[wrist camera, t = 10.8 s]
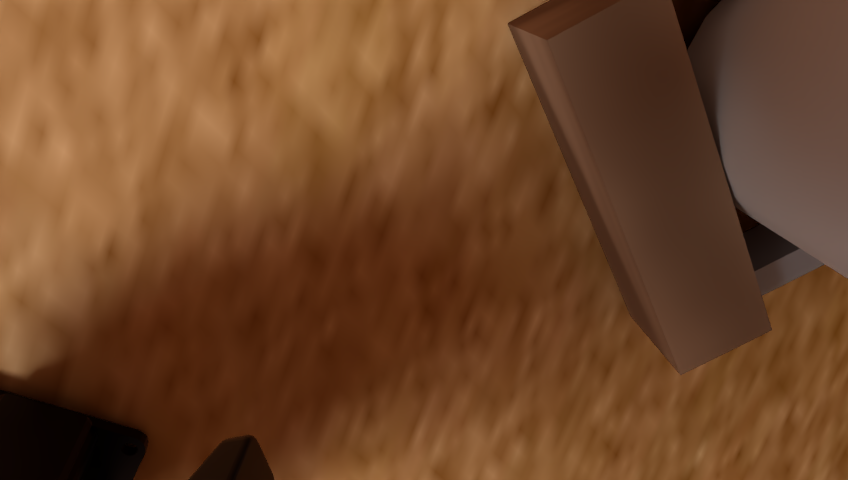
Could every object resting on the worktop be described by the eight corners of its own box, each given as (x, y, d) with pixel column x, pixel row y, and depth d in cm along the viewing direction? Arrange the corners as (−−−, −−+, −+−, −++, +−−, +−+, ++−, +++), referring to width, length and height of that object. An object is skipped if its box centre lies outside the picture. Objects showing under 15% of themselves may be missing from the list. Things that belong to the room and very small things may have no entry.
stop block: (630, 316, 23) (680, 375, 20) (507, 23, 19) (546, 40, 15) (709, 276, 23) (771, 329, 20) (604, -29, 18) (664, -23, 15)
